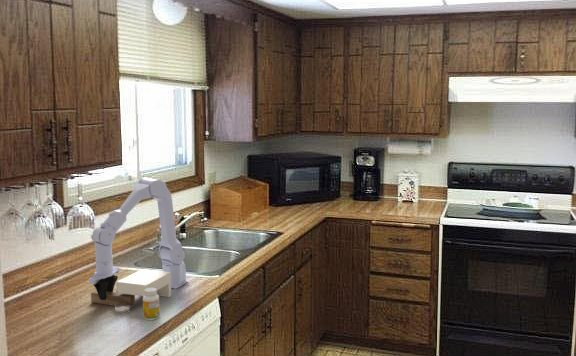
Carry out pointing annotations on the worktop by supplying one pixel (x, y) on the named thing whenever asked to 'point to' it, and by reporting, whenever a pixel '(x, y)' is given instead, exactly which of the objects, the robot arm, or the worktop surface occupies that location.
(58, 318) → the worktop surface
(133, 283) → the cream step stool
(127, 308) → the clear glass cup
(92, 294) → the tan long block
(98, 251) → the robot arm
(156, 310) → the supplement bottle
